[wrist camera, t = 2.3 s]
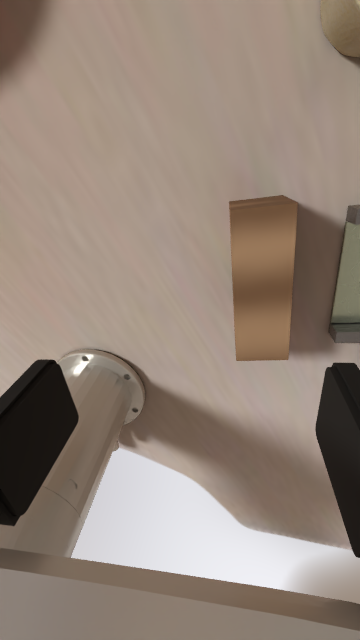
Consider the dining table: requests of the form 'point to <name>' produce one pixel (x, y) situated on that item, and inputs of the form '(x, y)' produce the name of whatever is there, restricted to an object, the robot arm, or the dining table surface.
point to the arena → (348, 284)
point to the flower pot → (342, 25)
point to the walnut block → (262, 275)
